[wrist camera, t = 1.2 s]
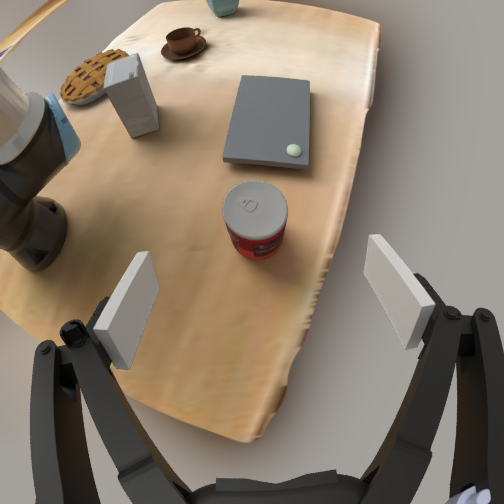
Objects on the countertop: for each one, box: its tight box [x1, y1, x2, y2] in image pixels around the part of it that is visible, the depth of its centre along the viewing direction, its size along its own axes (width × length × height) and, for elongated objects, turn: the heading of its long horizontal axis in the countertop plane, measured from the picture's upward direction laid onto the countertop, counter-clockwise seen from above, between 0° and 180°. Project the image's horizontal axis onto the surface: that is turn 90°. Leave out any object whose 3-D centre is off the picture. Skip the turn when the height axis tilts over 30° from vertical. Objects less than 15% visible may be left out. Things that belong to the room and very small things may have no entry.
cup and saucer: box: [161, 28, 206, 60], centre depth 55 cm, size 12×12×6 cm
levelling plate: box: [223, 75, 310, 170], centre depth 48 cm, size 14×22×3 cm, turn 173°
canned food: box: [222, 180, 288, 259], centre depth 38 cm, size 8×8×11 cm
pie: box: [60, 49, 129, 105], centre depth 55 cm, size 22×22×5 cm
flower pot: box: [206, 0, 239, 17], centre depth 59 cm, size 9×9×9 cm
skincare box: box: [103, 53, 159, 138], centre depth 44 cm, size 8×7×16 cm
